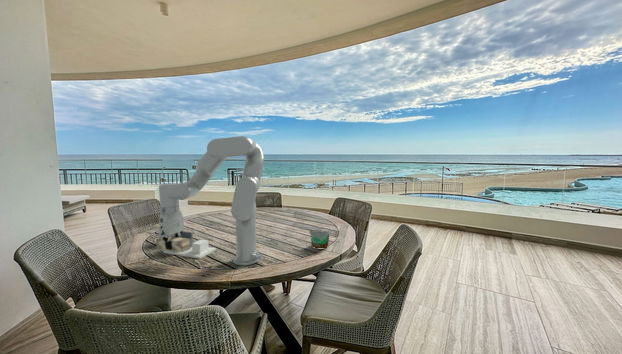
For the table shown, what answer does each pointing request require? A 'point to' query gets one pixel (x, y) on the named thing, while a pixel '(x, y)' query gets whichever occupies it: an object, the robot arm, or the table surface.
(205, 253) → the cup bracket
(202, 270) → the table surface
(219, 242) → the table surface
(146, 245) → the table surface
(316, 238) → the food container
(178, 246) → the top rail
